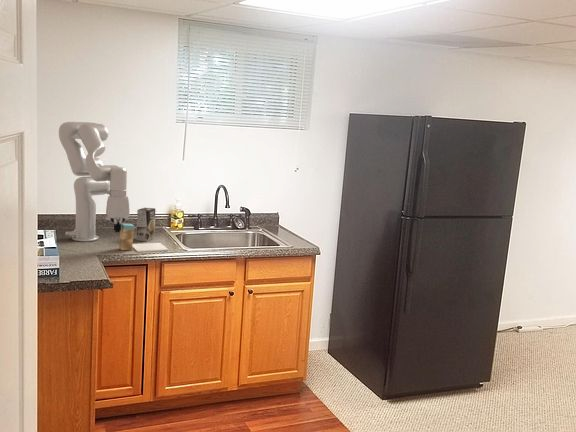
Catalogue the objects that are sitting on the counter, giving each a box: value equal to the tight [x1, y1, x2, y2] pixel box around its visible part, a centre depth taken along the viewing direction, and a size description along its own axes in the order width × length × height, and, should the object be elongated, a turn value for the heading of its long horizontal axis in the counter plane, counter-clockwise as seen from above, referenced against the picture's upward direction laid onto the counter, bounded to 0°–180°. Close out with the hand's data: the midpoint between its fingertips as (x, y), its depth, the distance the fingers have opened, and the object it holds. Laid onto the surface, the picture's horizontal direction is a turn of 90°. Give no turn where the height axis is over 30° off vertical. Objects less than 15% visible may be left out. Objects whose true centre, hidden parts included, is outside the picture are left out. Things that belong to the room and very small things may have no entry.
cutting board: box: [132, 242, 169, 253], centre depth 288 cm, size 15×14×1 cm
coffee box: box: [136, 207, 156, 242], centre depth 305 cm, size 9×6×16 cm
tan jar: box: [118, 222, 135, 251], centre depth 282 cm, size 5×5×12 cm
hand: (117, 231), depth 279 cm, fingers closed
